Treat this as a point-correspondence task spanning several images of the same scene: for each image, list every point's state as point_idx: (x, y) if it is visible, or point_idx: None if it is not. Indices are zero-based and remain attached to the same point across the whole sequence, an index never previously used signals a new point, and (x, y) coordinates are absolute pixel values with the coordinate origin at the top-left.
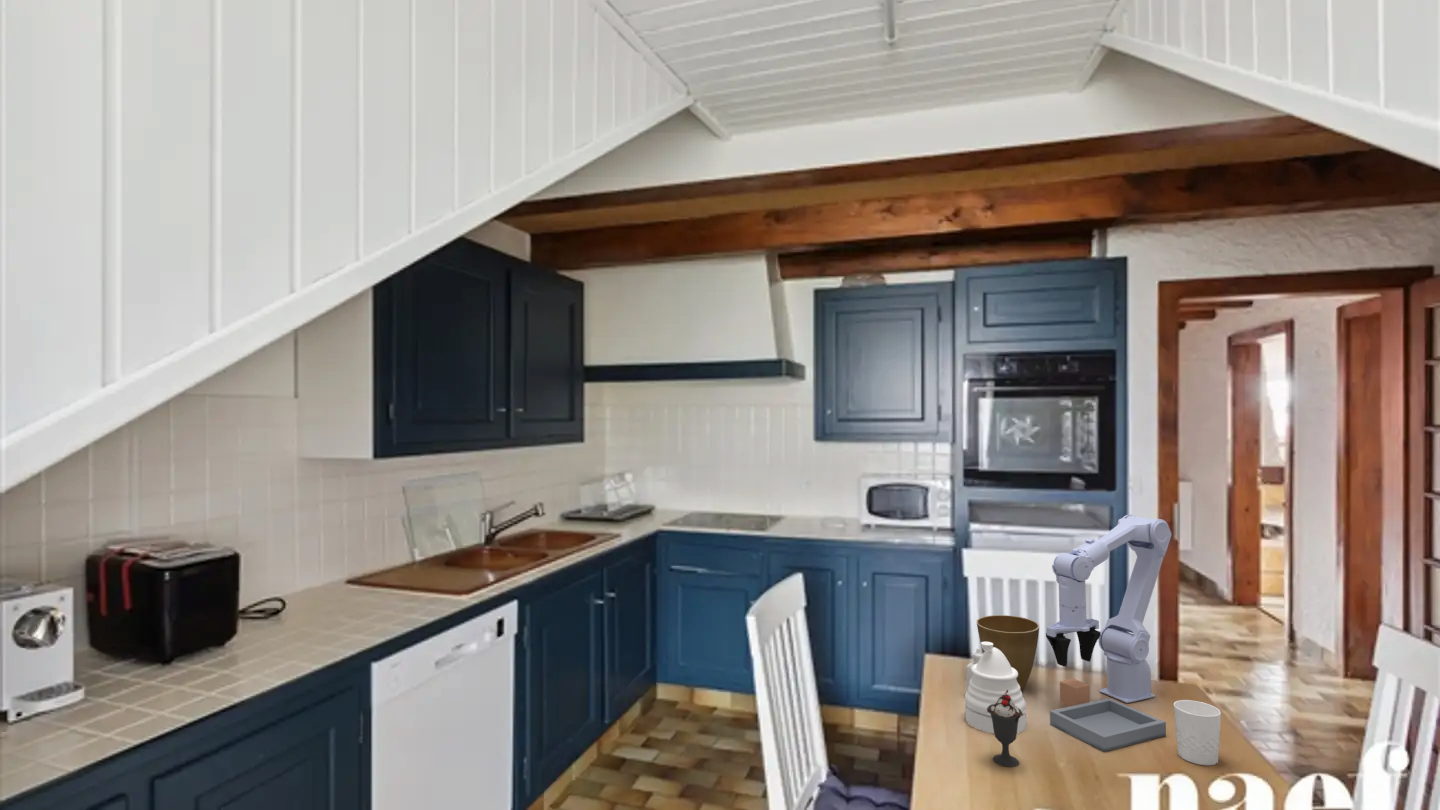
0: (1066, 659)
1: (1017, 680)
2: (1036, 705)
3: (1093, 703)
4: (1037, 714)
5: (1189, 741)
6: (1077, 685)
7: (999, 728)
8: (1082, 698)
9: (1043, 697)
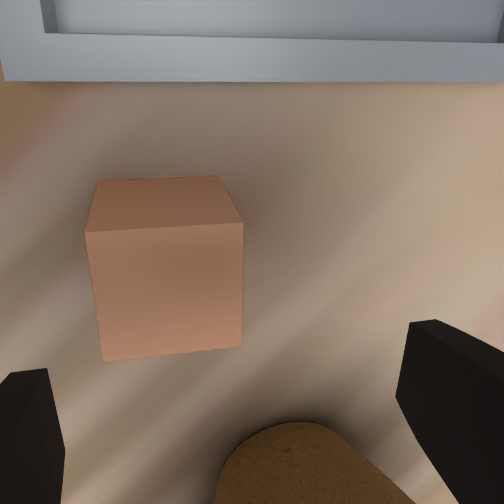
0: (485, 357)
1: (341, 452)
2: (358, 280)
3: (221, 47)
4: (444, 197)
5: None
6: (184, 256)
7: None
8: (164, 196)
9: (250, 343)
